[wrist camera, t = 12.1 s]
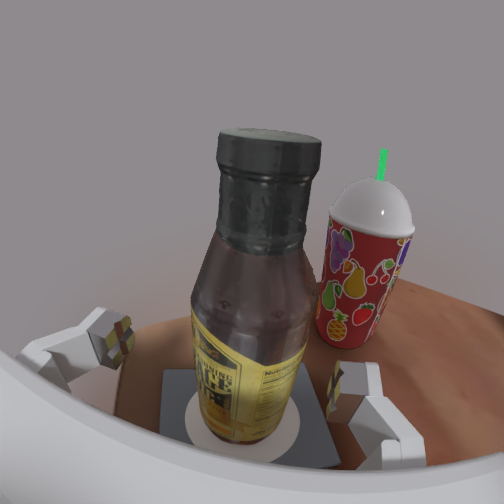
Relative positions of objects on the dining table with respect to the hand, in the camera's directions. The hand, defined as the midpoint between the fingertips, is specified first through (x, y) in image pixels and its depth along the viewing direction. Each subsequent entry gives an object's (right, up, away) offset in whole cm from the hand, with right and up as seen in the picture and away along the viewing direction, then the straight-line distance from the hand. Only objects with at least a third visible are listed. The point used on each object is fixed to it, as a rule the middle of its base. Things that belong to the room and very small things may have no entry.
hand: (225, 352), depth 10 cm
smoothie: (+11, -6, +21) cm, 24 cm away
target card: (0, -10, +10) cm, 14 cm away
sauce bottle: (0, -9, +10) cm, 13 cm away
